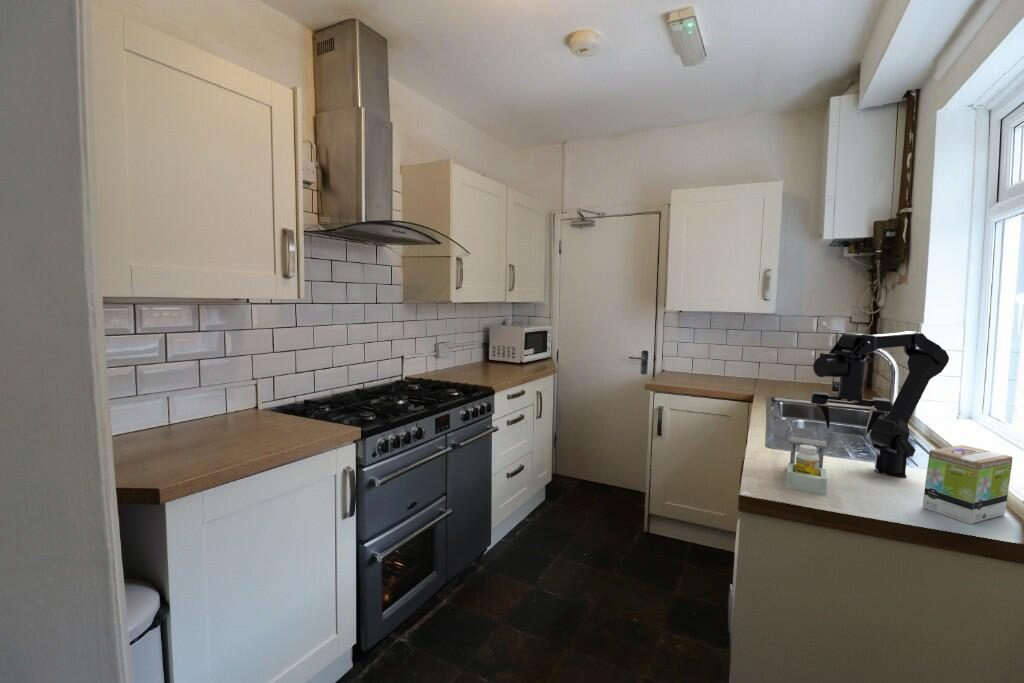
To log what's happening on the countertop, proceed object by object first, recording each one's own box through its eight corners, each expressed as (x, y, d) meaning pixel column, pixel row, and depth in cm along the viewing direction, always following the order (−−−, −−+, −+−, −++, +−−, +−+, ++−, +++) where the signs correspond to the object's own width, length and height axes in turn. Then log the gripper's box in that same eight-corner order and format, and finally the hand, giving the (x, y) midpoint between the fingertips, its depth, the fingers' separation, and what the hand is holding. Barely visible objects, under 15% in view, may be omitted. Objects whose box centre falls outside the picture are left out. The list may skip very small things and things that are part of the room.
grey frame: (823, 469, 140) (825, 441, 140) (824, 475, 135) (826, 446, 135) (788, 463, 145) (790, 436, 144) (787, 468, 140) (789, 441, 139)
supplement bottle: (821, 482, 130) (824, 447, 129) (811, 486, 127) (814, 451, 126) (800, 476, 134) (803, 442, 133) (790, 479, 131) (793, 445, 130)
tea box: (973, 526, 108) (980, 462, 106) (920, 508, 117) (926, 449, 116) (1007, 515, 114) (1014, 454, 112) (954, 499, 123) (960, 442, 122)
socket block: (823, 472, 140) (824, 459, 140) (826, 495, 123) (827, 480, 123) (788, 466, 145) (789, 453, 145) (785, 487, 128) (786, 473, 128)
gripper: (888, 376, 139) (884, 429, 140) (813, 370, 148) (809, 420, 150) (895, 382, 129) (889, 438, 131) (813, 375, 139) (809, 427, 140)
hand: (847, 430), depth 138 cm, fingers open, 9 cm apart
